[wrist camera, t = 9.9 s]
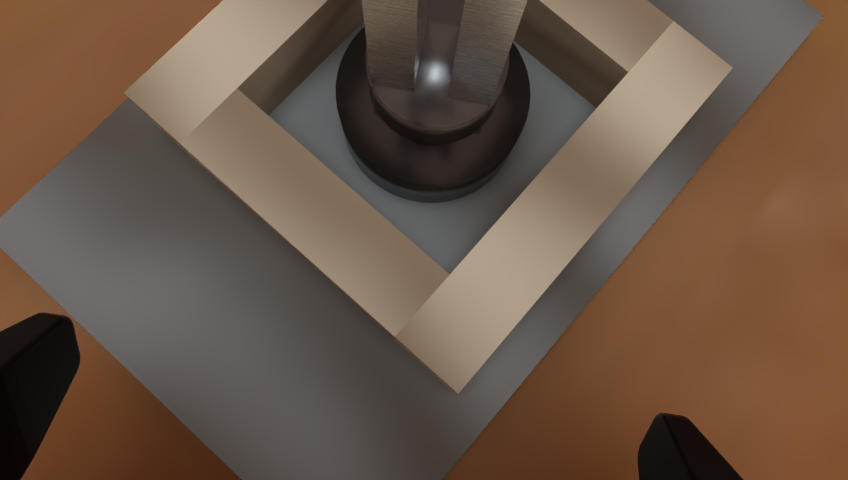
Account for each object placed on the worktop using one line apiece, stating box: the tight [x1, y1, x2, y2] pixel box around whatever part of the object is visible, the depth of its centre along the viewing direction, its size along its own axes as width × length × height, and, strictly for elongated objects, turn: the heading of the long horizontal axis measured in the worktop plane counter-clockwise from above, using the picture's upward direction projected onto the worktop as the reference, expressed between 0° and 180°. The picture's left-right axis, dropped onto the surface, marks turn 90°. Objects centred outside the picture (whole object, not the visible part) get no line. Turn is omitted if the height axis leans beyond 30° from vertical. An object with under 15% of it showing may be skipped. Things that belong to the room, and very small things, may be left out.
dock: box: [0, 0, 824, 480], centre depth 18 cm, size 22×14×4 cm, turn 139°
